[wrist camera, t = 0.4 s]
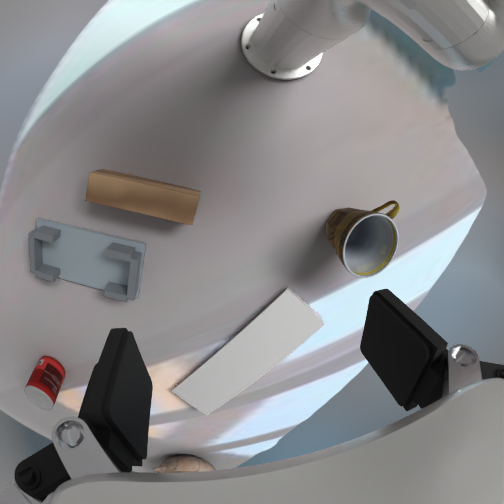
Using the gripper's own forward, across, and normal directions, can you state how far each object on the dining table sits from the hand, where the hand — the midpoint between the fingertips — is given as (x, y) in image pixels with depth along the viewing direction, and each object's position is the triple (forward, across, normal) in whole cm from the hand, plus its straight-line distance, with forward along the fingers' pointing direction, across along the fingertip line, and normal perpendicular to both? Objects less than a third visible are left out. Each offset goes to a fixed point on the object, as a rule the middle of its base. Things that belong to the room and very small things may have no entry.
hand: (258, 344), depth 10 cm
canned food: (+35, +45, +34) cm, 66 cm away
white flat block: (+35, -1, +32) cm, 47 cm away
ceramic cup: (+33, -22, +6) cm, 40 cm away
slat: (+34, +10, -2) cm, 35 cm away
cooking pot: (+35, +21, +81) cm, 91 cm away
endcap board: (+34, +23, +7) cm, 42 cm away
